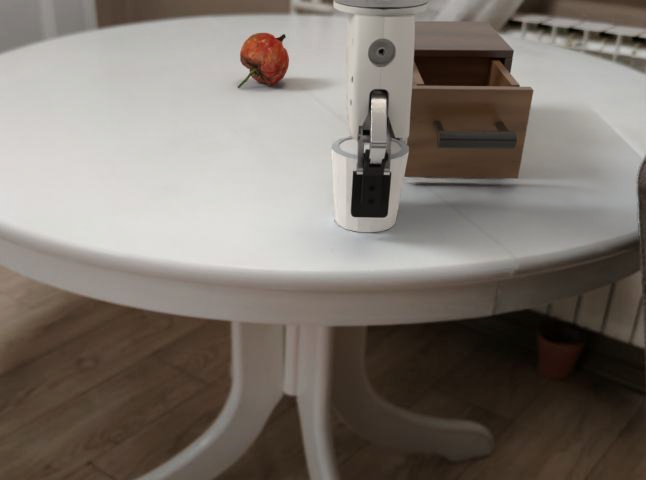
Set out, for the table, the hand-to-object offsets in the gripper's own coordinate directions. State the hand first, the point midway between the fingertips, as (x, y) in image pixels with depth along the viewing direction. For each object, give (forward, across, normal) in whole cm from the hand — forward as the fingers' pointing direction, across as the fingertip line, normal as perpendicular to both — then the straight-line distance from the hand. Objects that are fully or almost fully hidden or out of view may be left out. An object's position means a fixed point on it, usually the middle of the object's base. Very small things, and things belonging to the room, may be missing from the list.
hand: (366, 197), depth 73 cm
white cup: (+2, 0, 0) cm, 2 cm away
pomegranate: (+2, +47, +12) cm, 49 cm away
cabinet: (+2, +29, -10) cm, 31 cm away
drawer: (+1, +13, -10) cm, 17 cm away
